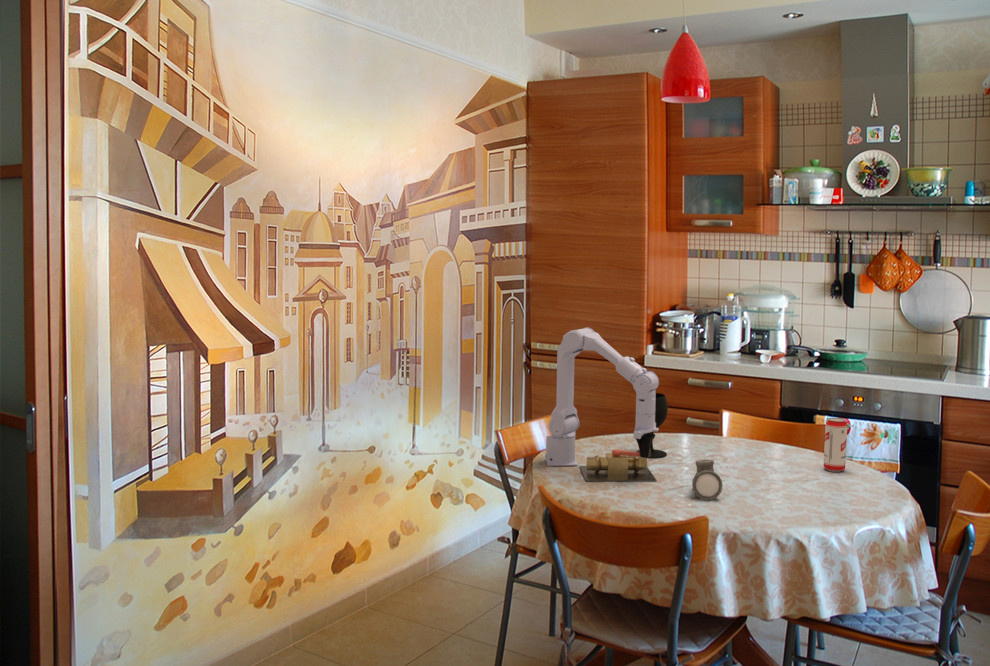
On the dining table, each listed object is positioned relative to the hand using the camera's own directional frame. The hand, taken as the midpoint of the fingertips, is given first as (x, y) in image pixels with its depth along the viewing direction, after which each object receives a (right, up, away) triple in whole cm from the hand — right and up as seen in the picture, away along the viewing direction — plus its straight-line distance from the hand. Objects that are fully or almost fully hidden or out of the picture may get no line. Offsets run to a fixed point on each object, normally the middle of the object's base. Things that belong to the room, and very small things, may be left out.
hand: (644, 457), depth 256 cm
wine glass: (+7, -3, +27) cm, 28 cm away
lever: (-4, 0, +3) cm, 5 cm away
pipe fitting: (+15, -8, -15) cm, 23 cm away
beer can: (+60, -5, +8) cm, 61 cm away
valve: (-8, -6, +5) cm, 11 cm away
